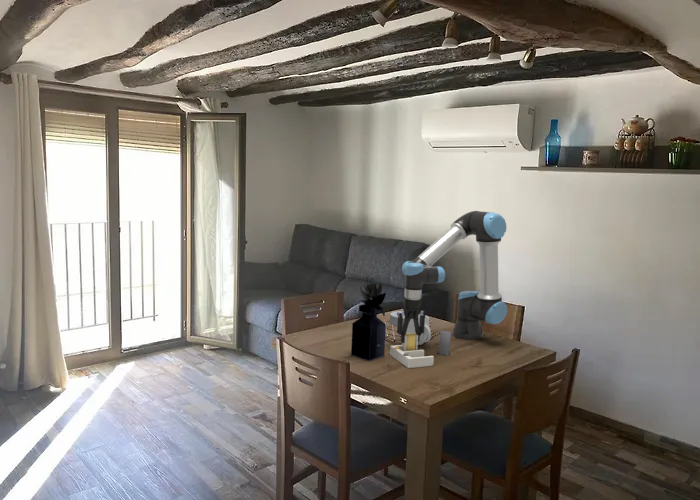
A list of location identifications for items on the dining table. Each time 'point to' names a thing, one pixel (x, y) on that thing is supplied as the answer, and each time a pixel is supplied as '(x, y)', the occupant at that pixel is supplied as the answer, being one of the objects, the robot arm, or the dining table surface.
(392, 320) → the grey wheel
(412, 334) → the ochre plug
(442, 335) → the charcoal plug
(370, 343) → the vase
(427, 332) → the mug
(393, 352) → the comb rack
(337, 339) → the dining table surface
